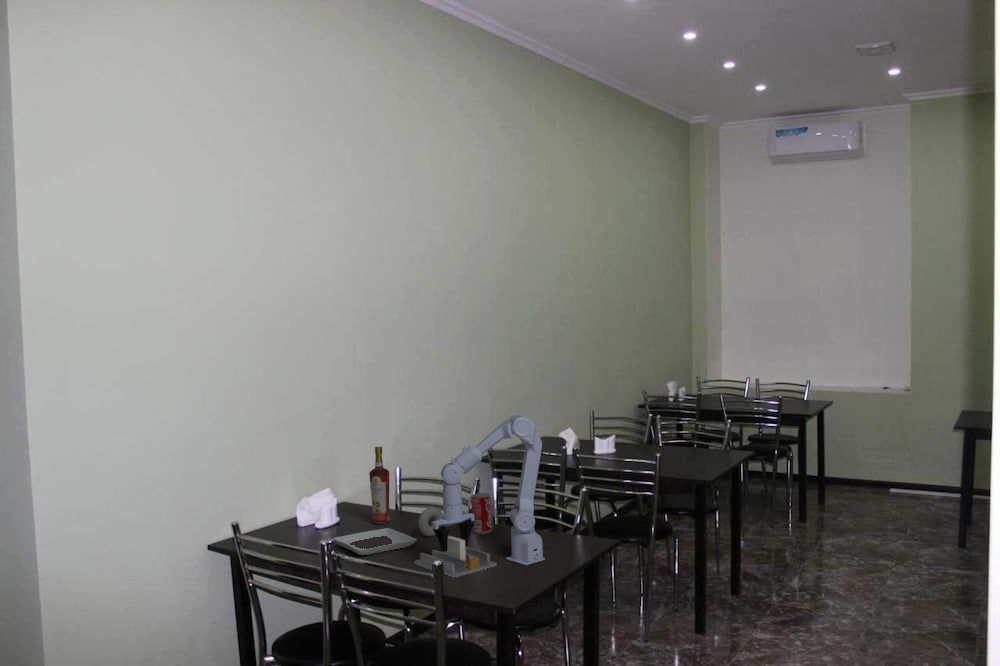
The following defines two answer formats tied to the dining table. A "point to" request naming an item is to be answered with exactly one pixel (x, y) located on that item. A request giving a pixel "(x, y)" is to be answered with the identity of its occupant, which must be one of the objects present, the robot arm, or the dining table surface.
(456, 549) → the panel
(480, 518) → the soda can
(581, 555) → the dining table surface
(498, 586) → the dining table surface
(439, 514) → the donut
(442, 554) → the rack
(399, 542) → the salad plate
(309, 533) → the dining table surface
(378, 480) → the liquor
